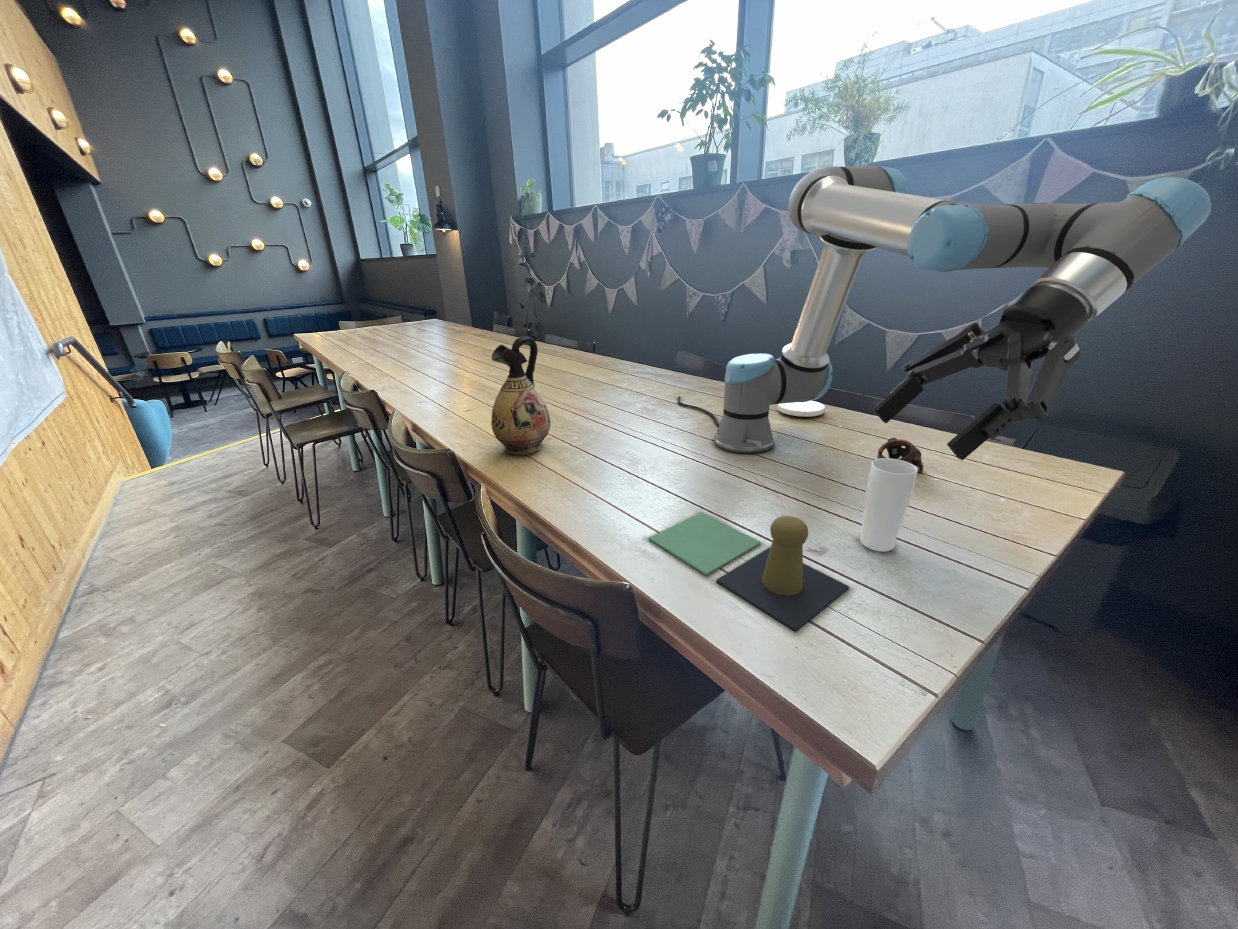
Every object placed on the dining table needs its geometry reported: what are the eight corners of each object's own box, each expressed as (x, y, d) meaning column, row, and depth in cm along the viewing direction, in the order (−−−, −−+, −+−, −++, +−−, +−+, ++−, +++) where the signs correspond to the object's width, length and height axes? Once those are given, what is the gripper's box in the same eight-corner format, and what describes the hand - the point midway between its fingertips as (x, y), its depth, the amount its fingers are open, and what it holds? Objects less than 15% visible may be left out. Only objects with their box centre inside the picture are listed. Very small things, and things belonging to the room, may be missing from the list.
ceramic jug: (513, 465, 118) (498, 344, 106) (485, 449, 129) (468, 338, 117) (568, 447, 128) (560, 335, 116) (538, 434, 139) (527, 330, 127)
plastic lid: (799, 422, 142) (800, 414, 141) (768, 410, 154) (768, 402, 153) (833, 415, 147) (835, 407, 146) (801, 404, 159) (802, 397, 158)
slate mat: (716, 582, 73) (716, 579, 73) (770, 549, 81) (770, 546, 81) (795, 632, 63) (796, 629, 63) (848, 589, 71) (849, 586, 71)
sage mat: (648, 539, 85) (648, 537, 85) (701, 514, 93) (701, 512, 93) (706, 576, 75) (706, 573, 75) (760, 544, 83) (760, 541, 82)
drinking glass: (897, 560, 77) (917, 477, 71) (852, 548, 81) (868, 469, 75) (899, 540, 82) (919, 462, 76) (857, 530, 86) (873, 454, 80)
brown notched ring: (933, 480, 105) (927, 453, 100) (888, 494, 108) (880, 469, 104) (910, 447, 114) (904, 422, 110) (869, 461, 117) (862, 438, 113)
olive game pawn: (759, 590, 71) (766, 527, 66) (763, 567, 76) (770, 507, 71) (802, 599, 68) (812, 535, 64) (803, 575, 74) (813, 514, 69)
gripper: (1197, 343, 46) (1012, 492, 50) (984, 316, 68) (869, 420, 73) (1174, 287, 43) (980, 450, 48) (960, 278, 66) (842, 389, 70)
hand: (913, 432), depth 60 cm, fingers open, 13 cm apart
